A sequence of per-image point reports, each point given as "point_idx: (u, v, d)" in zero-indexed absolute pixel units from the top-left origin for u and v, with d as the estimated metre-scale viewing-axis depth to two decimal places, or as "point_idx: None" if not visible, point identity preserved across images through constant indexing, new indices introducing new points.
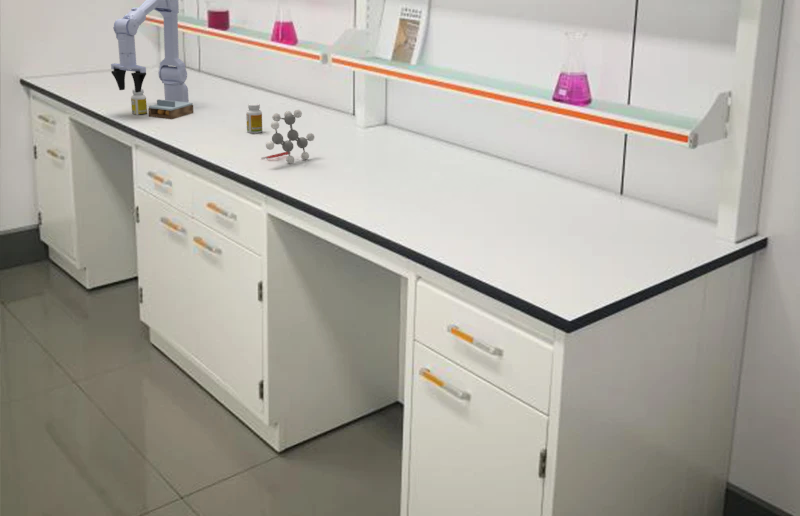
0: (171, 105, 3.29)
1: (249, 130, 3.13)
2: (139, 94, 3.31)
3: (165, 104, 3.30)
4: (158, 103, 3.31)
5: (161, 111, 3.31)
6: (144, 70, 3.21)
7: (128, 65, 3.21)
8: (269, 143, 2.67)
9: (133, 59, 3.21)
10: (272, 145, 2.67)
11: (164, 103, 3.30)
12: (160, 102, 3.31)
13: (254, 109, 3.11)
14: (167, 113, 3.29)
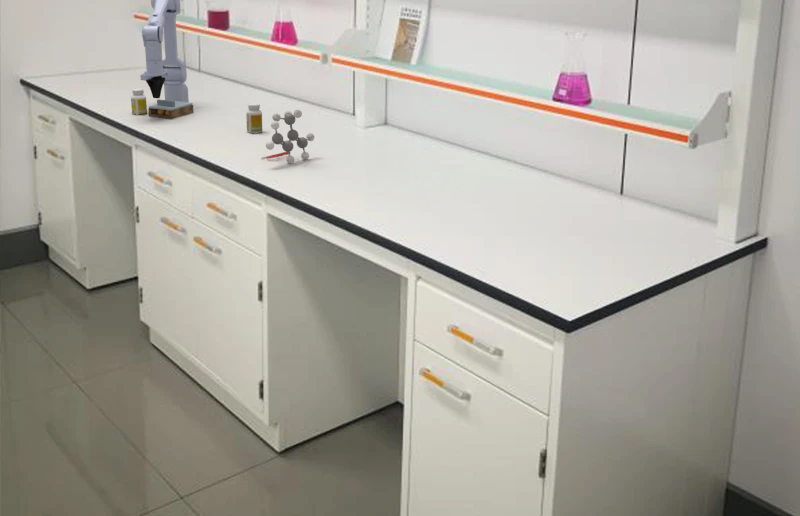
0: (171, 105, 3.29)
1: (249, 130, 3.13)
2: (139, 94, 3.31)
3: (165, 104, 3.30)
4: (158, 103, 3.31)
5: (161, 111, 3.31)
6: (142, 77, 3.16)
7: (146, 71, 3.21)
8: (269, 143, 2.67)
9: (149, 66, 3.19)
10: (272, 145, 2.67)
11: (164, 103, 3.30)
12: (160, 102, 3.31)
13: (254, 109, 3.11)
14: (167, 113, 3.29)
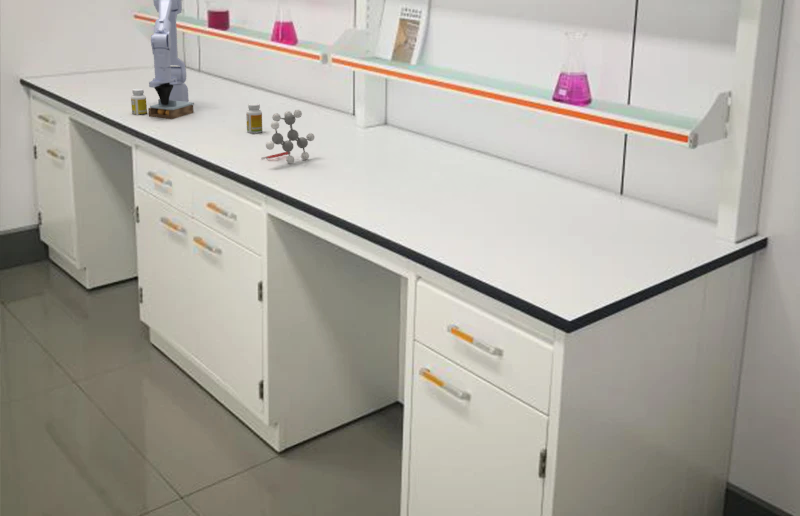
0: (172, 105, 3.30)
1: (249, 130, 3.13)
2: (139, 94, 3.31)
3: None
4: (159, 103, 3.32)
5: (161, 111, 3.31)
6: (151, 84, 3.21)
7: (155, 78, 3.26)
8: (269, 143, 2.67)
9: (157, 73, 3.24)
10: (272, 145, 2.67)
11: None
12: None
13: (254, 109, 3.11)
14: (167, 113, 3.29)
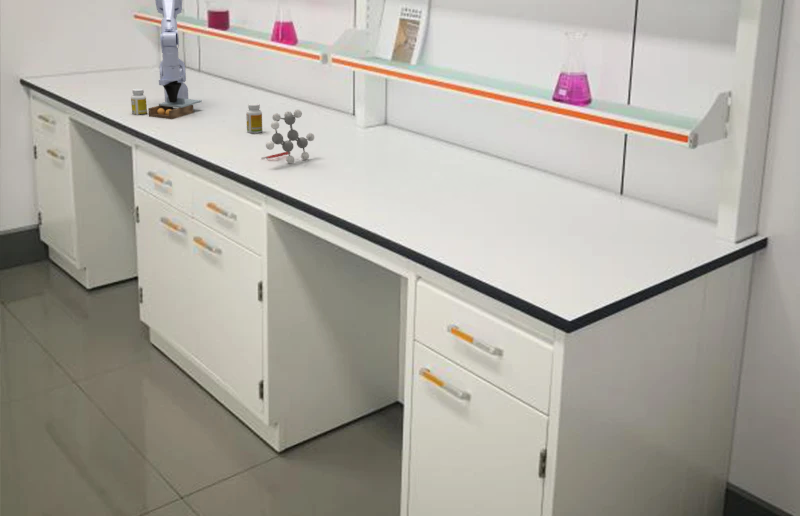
0: (181, 102, 3.35)
1: (249, 130, 3.13)
2: (139, 94, 3.31)
3: None
4: (168, 100, 3.37)
5: (161, 111, 3.31)
6: (161, 82, 3.25)
7: (163, 76, 3.30)
8: (269, 143, 2.67)
9: (166, 71, 3.28)
10: (272, 145, 2.67)
11: None
12: None
13: (254, 109, 3.11)
14: (167, 113, 3.29)
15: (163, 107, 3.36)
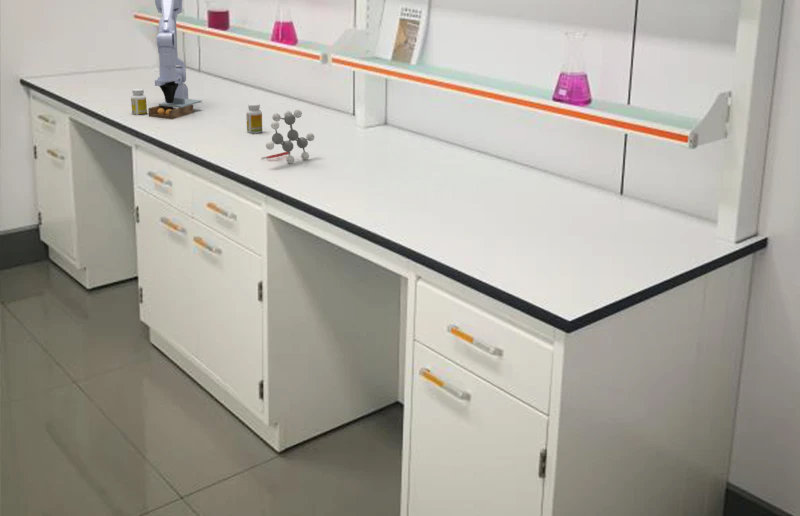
0: (181, 102, 3.35)
1: (249, 130, 3.13)
2: (139, 94, 3.31)
3: (175, 101, 3.36)
4: None
5: (161, 111, 3.31)
6: (156, 83, 3.24)
7: (160, 77, 3.29)
8: (269, 143, 2.67)
9: (162, 72, 3.26)
10: (272, 145, 2.67)
11: (174, 100, 3.36)
12: None
13: (254, 109, 3.11)
14: (167, 113, 3.29)
15: (163, 107, 3.36)
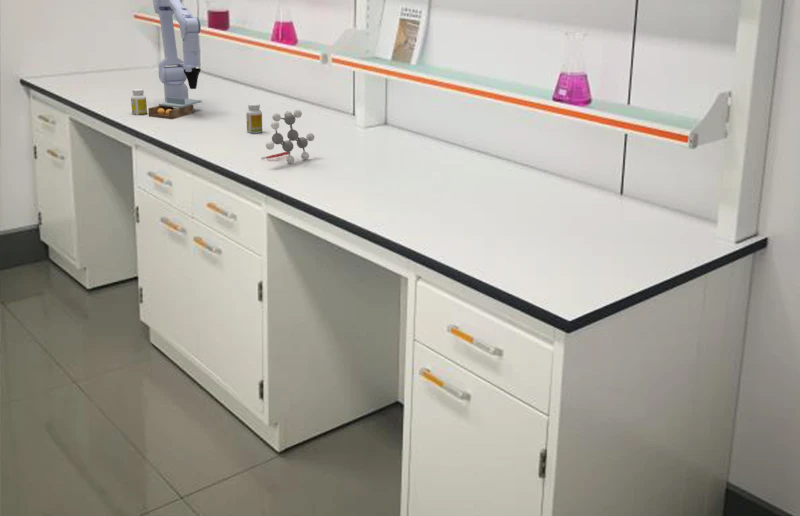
0: (181, 102, 3.35)
1: (249, 130, 3.13)
2: (139, 94, 3.31)
3: (175, 101, 3.36)
4: (168, 100, 3.37)
5: (161, 111, 3.31)
6: (188, 69, 3.23)
7: (185, 63, 3.28)
8: (269, 143, 2.67)
9: (189, 58, 3.26)
10: (272, 145, 2.67)
11: (174, 100, 3.36)
12: (170, 99, 3.36)
13: (254, 109, 3.11)
14: (167, 113, 3.29)
15: (163, 107, 3.36)
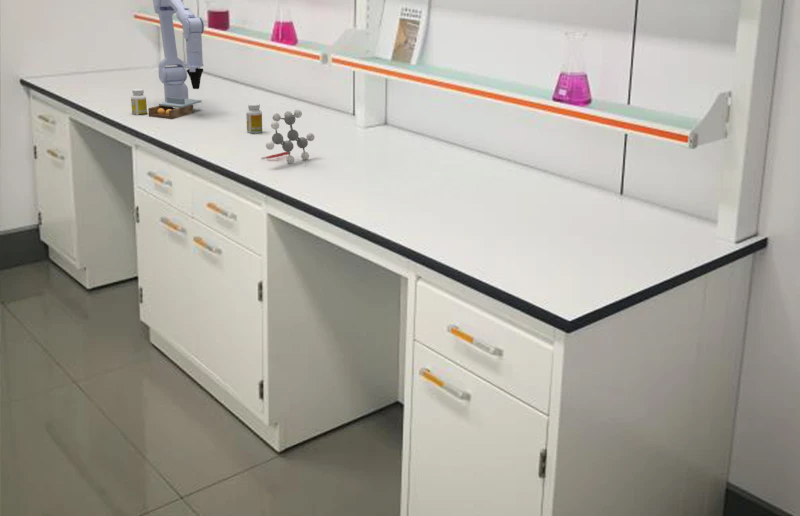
0: (181, 102, 3.35)
1: (249, 130, 3.13)
2: (139, 94, 3.31)
3: (175, 101, 3.36)
4: (168, 100, 3.37)
5: (161, 111, 3.31)
6: (192, 69, 3.24)
7: (188, 63, 3.28)
8: (269, 143, 2.67)
9: (192, 58, 3.27)
10: (272, 145, 2.67)
11: (174, 100, 3.36)
12: (170, 99, 3.36)
13: (254, 109, 3.11)
14: (167, 113, 3.29)
15: (163, 107, 3.36)
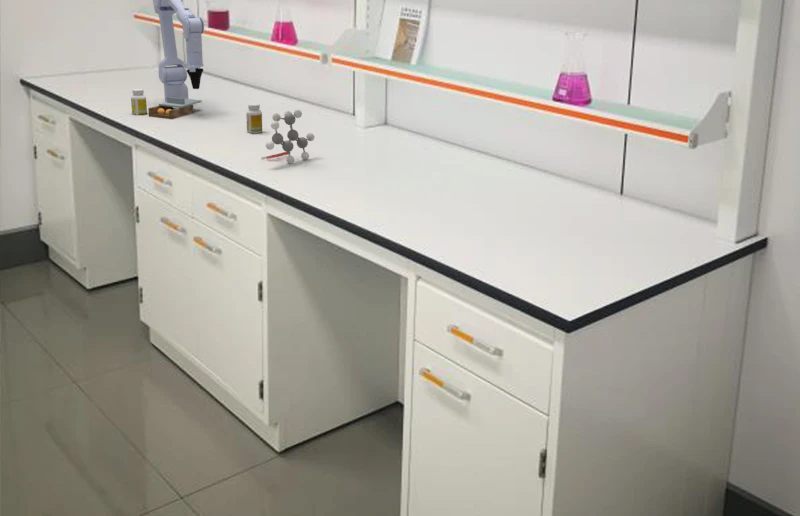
0: (181, 102, 3.35)
1: (249, 130, 3.13)
2: (139, 94, 3.31)
3: (175, 101, 3.36)
4: (168, 100, 3.37)
5: (161, 111, 3.31)
6: (192, 69, 3.24)
7: (188, 63, 3.28)
8: (269, 143, 2.67)
9: (192, 58, 3.27)
10: (272, 145, 2.67)
11: (174, 100, 3.36)
12: (170, 99, 3.36)
13: (254, 109, 3.11)
14: (167, 113, 3.29)
15: (163, 107, 3.36)
